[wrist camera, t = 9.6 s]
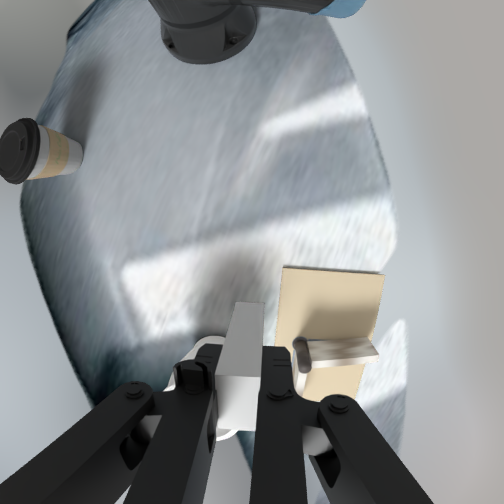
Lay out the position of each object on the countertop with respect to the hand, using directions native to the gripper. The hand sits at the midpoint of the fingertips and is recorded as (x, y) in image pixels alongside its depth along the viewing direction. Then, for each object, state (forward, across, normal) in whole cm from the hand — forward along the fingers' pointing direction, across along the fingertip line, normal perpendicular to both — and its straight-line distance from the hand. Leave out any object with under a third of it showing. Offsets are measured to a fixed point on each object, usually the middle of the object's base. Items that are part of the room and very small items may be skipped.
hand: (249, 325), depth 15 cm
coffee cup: (+27, -33, +14) cm, 45 cm away
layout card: (+26, +10, -16) cm, 33 cm away
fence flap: (+26, +12, -16) cm, 32 cm away
